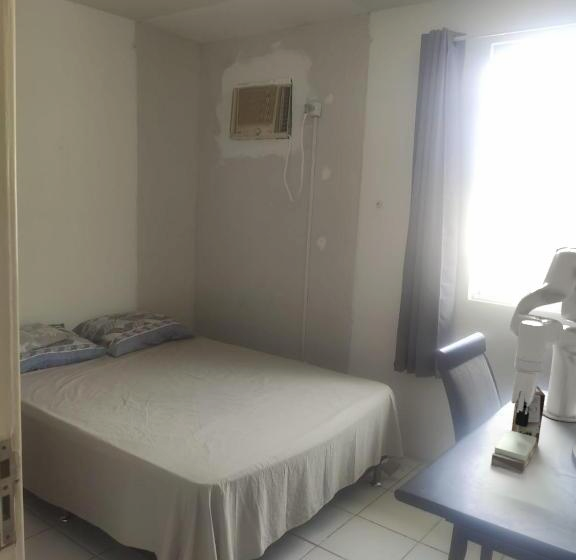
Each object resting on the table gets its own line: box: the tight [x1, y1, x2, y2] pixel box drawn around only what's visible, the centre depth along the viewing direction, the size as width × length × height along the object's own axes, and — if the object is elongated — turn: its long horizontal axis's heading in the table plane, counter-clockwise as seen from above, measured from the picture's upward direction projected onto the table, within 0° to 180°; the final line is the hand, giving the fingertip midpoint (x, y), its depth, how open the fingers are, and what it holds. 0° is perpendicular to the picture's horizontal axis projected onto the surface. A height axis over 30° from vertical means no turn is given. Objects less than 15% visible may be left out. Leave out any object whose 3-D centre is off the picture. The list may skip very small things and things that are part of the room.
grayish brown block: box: [490, 444, 535, 475], centre depth 159 cm, size 18×8×3 cm, turn 147°
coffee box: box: [511, 386, 546, 448], centre depth 172 cm, size 9×6×16 cm
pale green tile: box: [493, 429, 536, 461], centre depth 160 cm, size 16×8×2 cm, turn 147°
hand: (521, 424), depth 163 cm, fingers closed
